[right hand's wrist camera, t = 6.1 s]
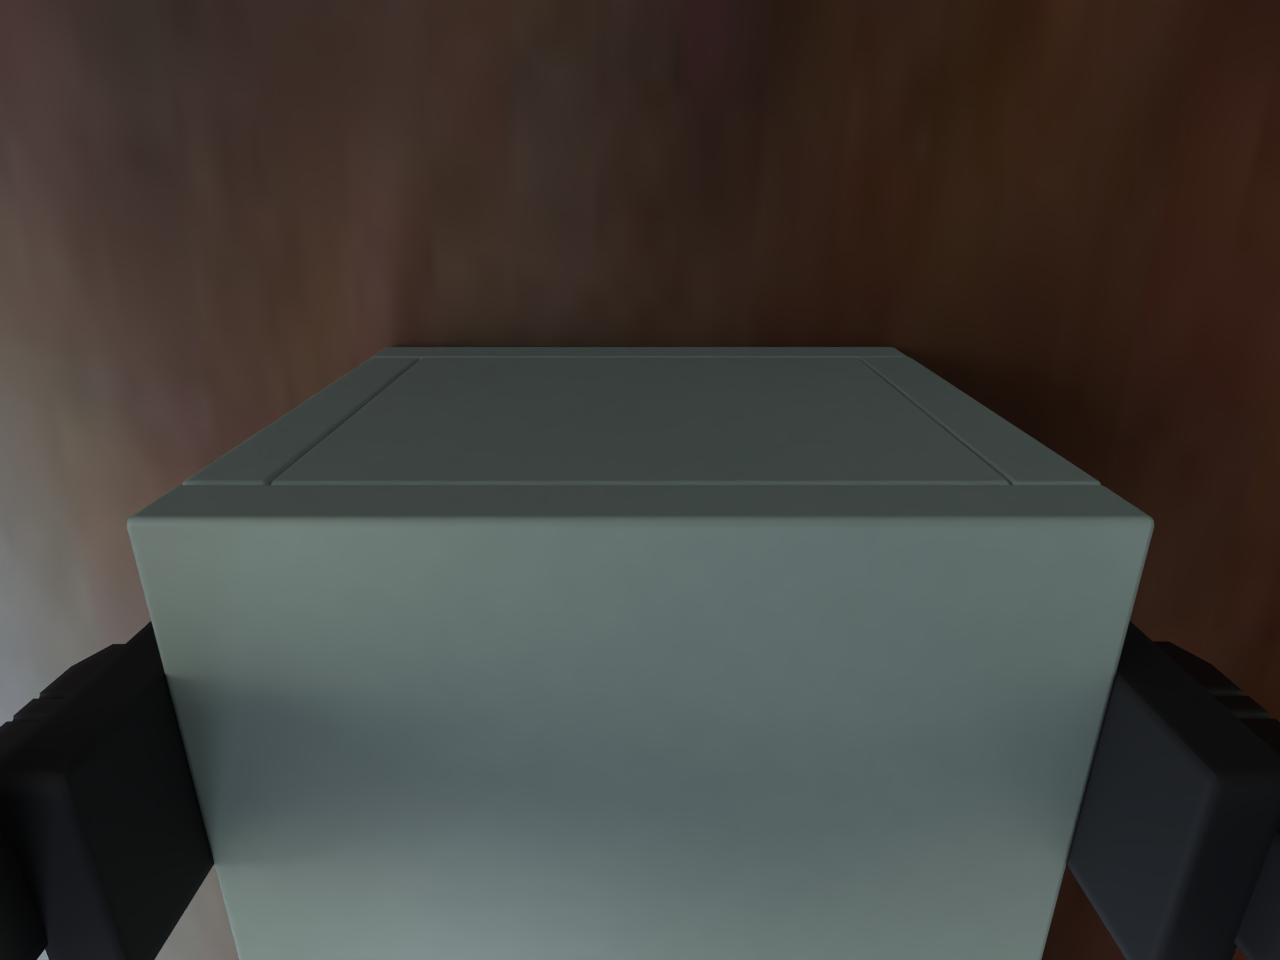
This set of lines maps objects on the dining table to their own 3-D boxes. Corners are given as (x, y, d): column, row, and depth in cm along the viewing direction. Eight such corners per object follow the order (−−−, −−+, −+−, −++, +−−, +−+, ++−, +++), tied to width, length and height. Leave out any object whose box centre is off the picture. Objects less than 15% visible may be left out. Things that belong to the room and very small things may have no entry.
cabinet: (810, 1056, 23) (899, 1510, 15) (469, 1056, 23) (380, 1511, 15) (895, 346, 16) (1160, 518, 8) (384, 346, 16) (119, 518, 8)
